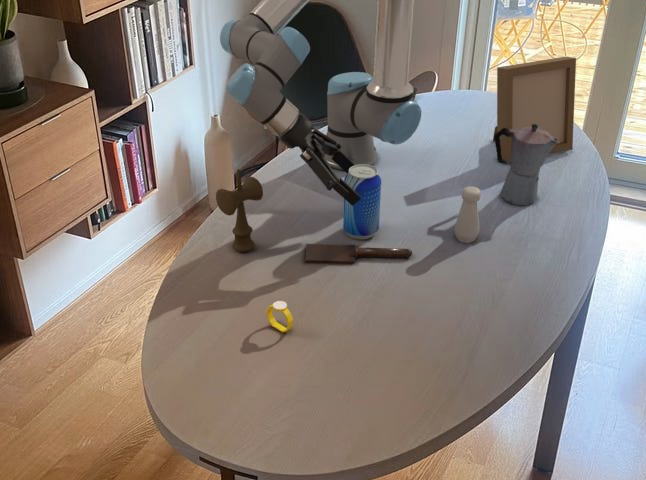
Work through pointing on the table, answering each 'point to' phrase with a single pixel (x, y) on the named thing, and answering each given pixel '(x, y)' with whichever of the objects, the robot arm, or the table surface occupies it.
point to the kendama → (240, 209)
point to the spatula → (348, 253)
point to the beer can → (363, 202)
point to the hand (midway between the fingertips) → (356, 186)
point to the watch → (282, 307)
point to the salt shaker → (468, 216)
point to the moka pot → (524, 162)
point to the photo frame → (537, 100)
